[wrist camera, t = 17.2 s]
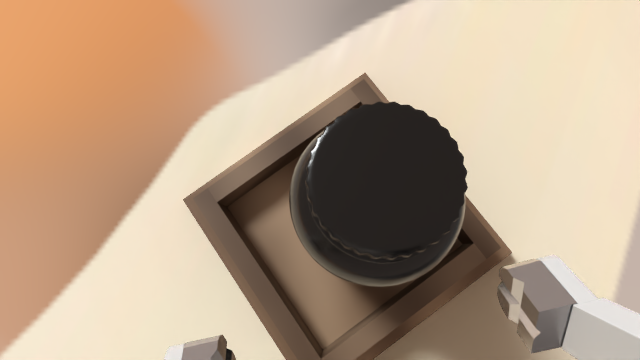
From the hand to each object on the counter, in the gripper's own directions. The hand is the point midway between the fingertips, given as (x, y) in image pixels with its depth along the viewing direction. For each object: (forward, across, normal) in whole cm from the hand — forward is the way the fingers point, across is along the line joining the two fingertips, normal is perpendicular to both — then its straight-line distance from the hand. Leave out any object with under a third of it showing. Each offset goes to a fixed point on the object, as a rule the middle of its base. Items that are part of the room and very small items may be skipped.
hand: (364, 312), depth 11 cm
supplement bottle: (+11, -2, +6) cm, 12 cm away
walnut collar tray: (+11, 0, +6) cm, 13 cm away
